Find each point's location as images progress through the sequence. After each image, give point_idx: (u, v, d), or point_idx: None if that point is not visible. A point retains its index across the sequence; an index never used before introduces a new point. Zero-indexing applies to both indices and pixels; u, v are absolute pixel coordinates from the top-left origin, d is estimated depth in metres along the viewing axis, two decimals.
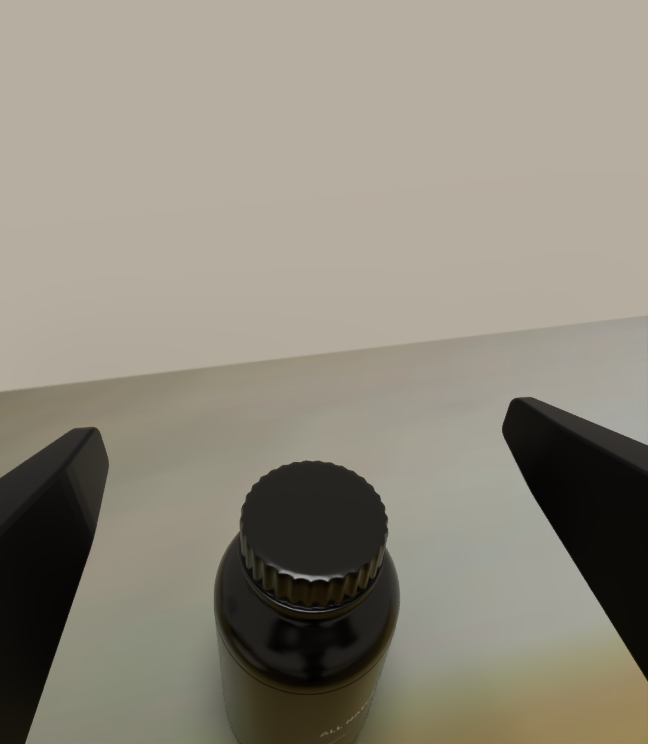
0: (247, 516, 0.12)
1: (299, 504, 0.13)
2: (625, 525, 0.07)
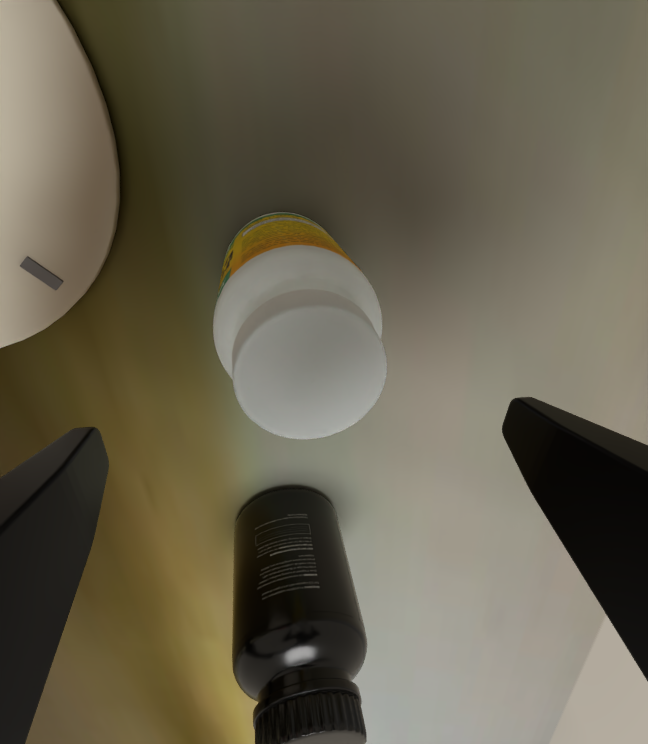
0: (314, 735, 0.16)
1: None
2: (625, 525, 0.07)
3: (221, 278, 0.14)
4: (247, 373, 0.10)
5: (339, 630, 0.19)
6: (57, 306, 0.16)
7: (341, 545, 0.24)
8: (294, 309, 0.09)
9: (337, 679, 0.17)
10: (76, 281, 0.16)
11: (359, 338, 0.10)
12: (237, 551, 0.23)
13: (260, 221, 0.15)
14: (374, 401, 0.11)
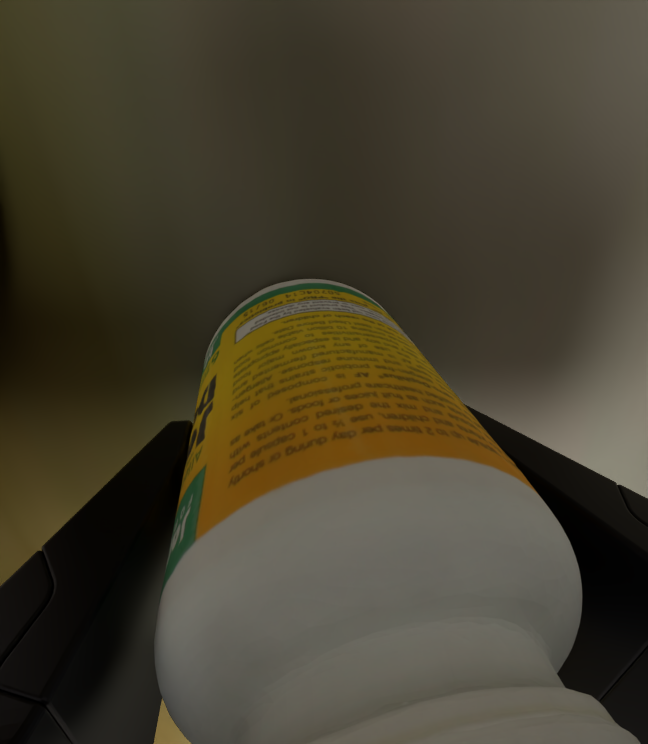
0: None
1: None
2: None
3: (189, 452, 0.06)
4: None
5: None
6: None
7: None
8: None
9: None
10: None
11: None
12: None
13: (270, 306, 0.08)
14: None
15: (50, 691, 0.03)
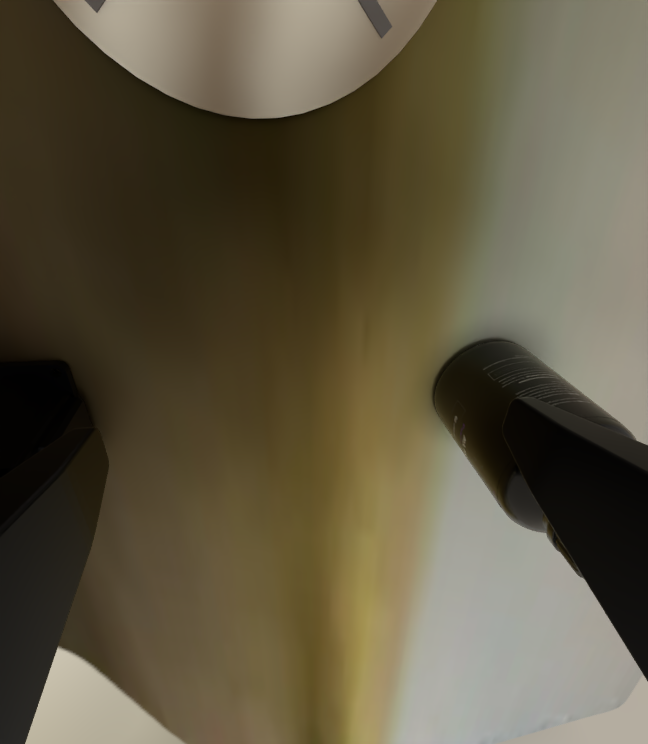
0: None
1: None
2: (625, 525, 0.07)
3: None
4: None
5: (630, 435, 0.18)
6: (374, 60, 0.15)
7: None
8: None
9: None
10: (403, 28, 0.15)
11: None
12: (462, 394, 0.22)
13: None
14: None
15: None
